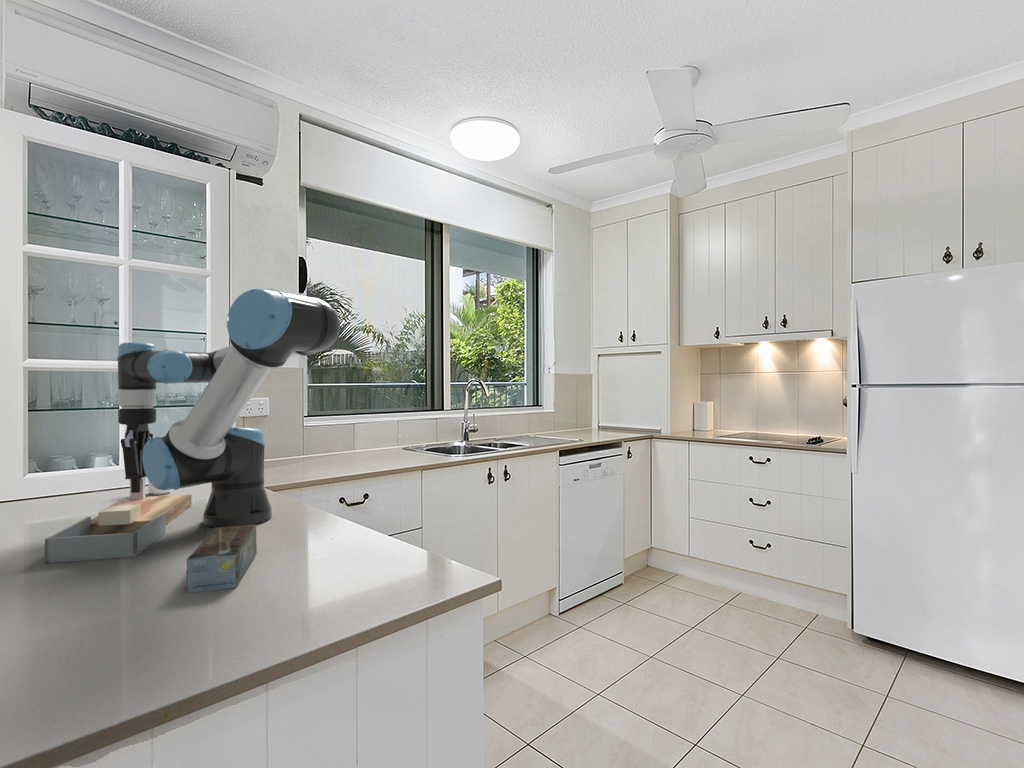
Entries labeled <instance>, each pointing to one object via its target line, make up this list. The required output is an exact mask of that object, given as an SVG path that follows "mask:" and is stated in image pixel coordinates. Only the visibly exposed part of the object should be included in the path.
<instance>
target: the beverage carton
mask: <svg viewBox="0 0 1024 768" xmlns="http://www.w3.org/2000/svg"><path fill="white" fill-rule="evenodd" d="M257 546H258V545H257V524H250V525H243V526H238V525H236V526H229V527H214V529H213V530H212V531H211V532H210V534H208V536H207V537H206V538H205V539H204V540H203V541H202V543H201V544H200V545H199V546H198V547H197V548H196V549H195V550H194V551H193V552H192V554H190V555H189V556H188V557H187V558H186V584H187V585H186V586H187V592H188V593H194V592H195V593H197V592H206V591H215V590H216V591H218V590H227V589H229V590H230V589H237V588H238V585H239V584H240V582H241V580H242V579H243V577H244V575H245V574H246V572H247V570H248V569H249V567H250V565H251V564H252V562H253V560H254V558H255V556H256V555H257V552H258V550H257V549H258V547H257Z"/></svg>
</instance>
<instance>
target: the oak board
mask: <svg viewBox="0 0 1024 768" xmlns="http://www.w3.org/2000/svg"><path fill="white" fill-rule="evenodd" d="M145 499H150V511H149V512H148V513H146V514H145V515H143V516H141V518H139V519H137V520H136V521H134V522H133V523H131V524H121V525H104V526H98V515H97V516H96V517H94V518H91V535H98V534H113V533H129V532H136V531H137V530H139V529H140V528H141V527H143V526H144V525H146V524H147V523H149V522H150V521H151V520H153V519H154V518H156V517H157V516H159V515H160V514H161V513H165V527H166V526H167V525H168V524H169V523H171V522H172V521H173V520H174V519H176V518H177V517H179V516H180V515H181V514H182V513H184V512H186V510H188V509H189V508H190V507H191V506H192V494H177V495H153V496H152V495H151V496H145ZM128 500H130V498H129V499H128Z"/></svg>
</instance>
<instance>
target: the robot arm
mask: <svg viewBox="0 0 1024 768" xmlns="http://www.w3.org/2000/svg"><path fill="white" fill-rule="evenodd" d="M227 317H229V319H228V320H227V321H226V327H227V332H228V333H227V334H228V337H229V338H228V340H229V343H230V344H229V345H227V346H225V347H222V348H220V349H217V350H214V351H211V352H202V351H201V352H200V351H199V352H198V351H178V350H175V349H163V350H157V347H156V345H155V344H153V343H147V342H122V343H120V344H119V346H118V351H117V352H118V355H117V358H116V359H117V384H118V385H117V387H118V388H117V389H118V393H116V395H115V396H116V398H117V399H118V406H119V407H121V408H119V409H118V411H117V413H118V415H117V417H118V419H117V421H118V424H119V425H125V426H126V430H125V434H124V438H121V439H120V444H121V448H122V454H123V463H124V473H125V477H124V478H125V480H129V495H130V496H129V499H130V500H132V499H145V497H146V478H147V481H148V480H149V482H150V483H151V484H152V485H153V486H154V487H155V488H157V489H159V490H171V489H172V490H173V491H174V490H175V491H176V490H179V489H184V488H191V487H195V486H201V485H204V484H205V485H206V484H210V483H211V491H210V494H209V497H208V500H207V504H206V506H205V508H204V511H203V516H202V517H203V518H202V519H203V520H202V521H203V525H204V526H205V527H210V528H216V527H229V526H236V525H238V526H243V525H250V524H255V525H257V524H260V523H263V522H266V521H268V520H270V519H271V518H272V515H273V513H272V512H273V511H272V509H273V508H272V505H271V503H270V500H269V497H268V494H267V491H266V488H265V447H266V445H265V438H264V437H265V435H264V432H263V431H262V430H261V429H259V428H255V427H254V428H250V427H238V426H237V427H236V426H234V424H235V422H236V421H237V419H238V418H239V417H240V415H241V414H242V412H243V410H244V409H245V408H246V407H247V405H248V403H249V402H251V399H252V398H253V396H255V393H256V392H257V390H258V389H259V388H260V386H261V384H262V383H263V382H264V380H265V378H266V377H267V376H268V375H269V373H270V372H271V370H272V369H279V368H282V367H283V366H284V364H285V363H286V362H287V361H288V359H289V358H292V357H296V356H298V355H299V356H301V357H307V356H312V355H315V354H317V353H320V352H323V351H327V350H328V349H329V348H331V347H332V346H333V345H334V344H335V342H336V341H337V339H338V338H339V334H340V332H341V331H340V330H341V329H340V328H341V324H340V323H341V322H340V319H339V316H338V314H337V312H336V310H335V309H334V308H333V307H332V306H331V304H330V303H327V302H326V301H324V300H322V299H320V298H318V297H314V296H313V297H312V296H305V295H299V294H293V293H287V292H282V291H280V290H277V289H273V288H268V289H267V288H265V289H264V288H252V289H249V290H247V291H244V292H242V293H241V294H239V295H238V297H236V299H234V301H233V302H232V304H231V306H230V308H229V310H228V314H227ZM197 383H200V384H202V383H203V384H204V383H207V384H206V386H205V387H204V389H203V391H202V393H201V394H200V395H199V398H198V399H197V400H196V402H195V403H194V405H193V406H192V408H191V410H190V412H189V413H188V414H187V416H186V417H185V419H180V420H178V421H176V422H175V423H173V424H172V425H171V426H170V428H169V430H168V431H167V433H166V434H165V435H164V436H161V437H160V436H155V437H154V434H153V433H151V432H150V430H149V425H151V424H155V423H156V422H157V409H156V408H155V407H154V406H156V405H157V384H165V385H167V384H173V385H174V384H197Z"/></svg>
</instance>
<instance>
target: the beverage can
mask: <svg viewBox="0 0 1024 768" xmlns="http://www.w3.org/2000/svg"><path fill="white" fill-rule="evenodd" d="M147 482H148V484H147V485H148V488H147V491H148V493H149V494H151V495H153V496H162V495H165V494H166V495H167V494H169V493H170V492H172V491H173V489H171V490H159V489H157V488H155V487H154V486H153V485H152V484H151V483H150V482H149V480H148V479H147Z"/></svg>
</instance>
